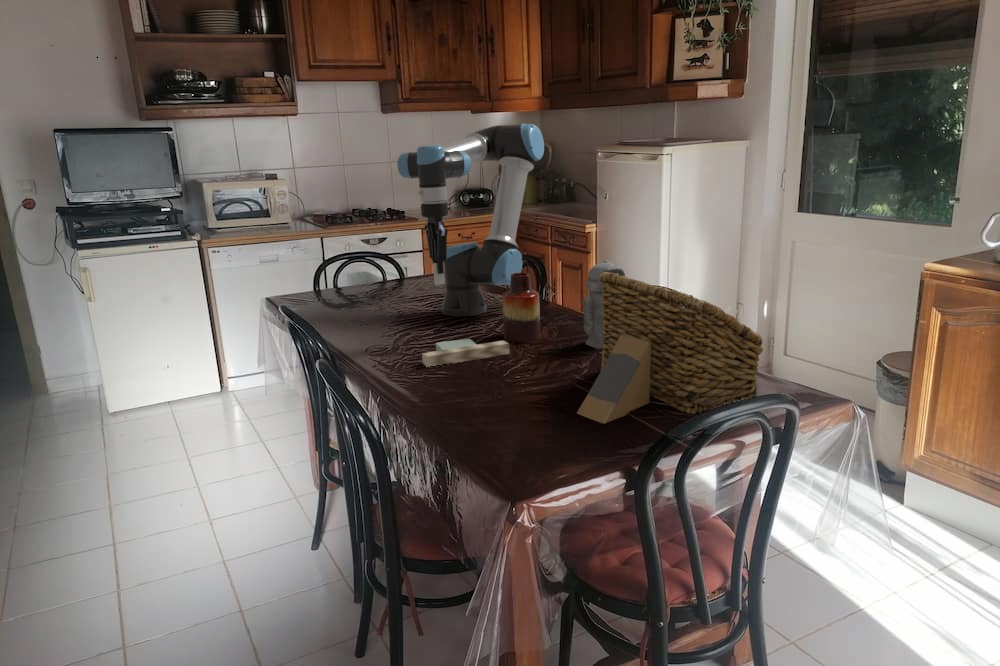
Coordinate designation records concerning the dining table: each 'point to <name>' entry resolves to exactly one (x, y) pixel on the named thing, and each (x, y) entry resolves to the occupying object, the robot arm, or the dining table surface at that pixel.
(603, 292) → the basket
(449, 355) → the curved wooden bar
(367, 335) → the dining table surface
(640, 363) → the sandwich container
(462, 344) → the block
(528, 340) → the vase
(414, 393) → the dining table surface
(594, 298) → the figurine
